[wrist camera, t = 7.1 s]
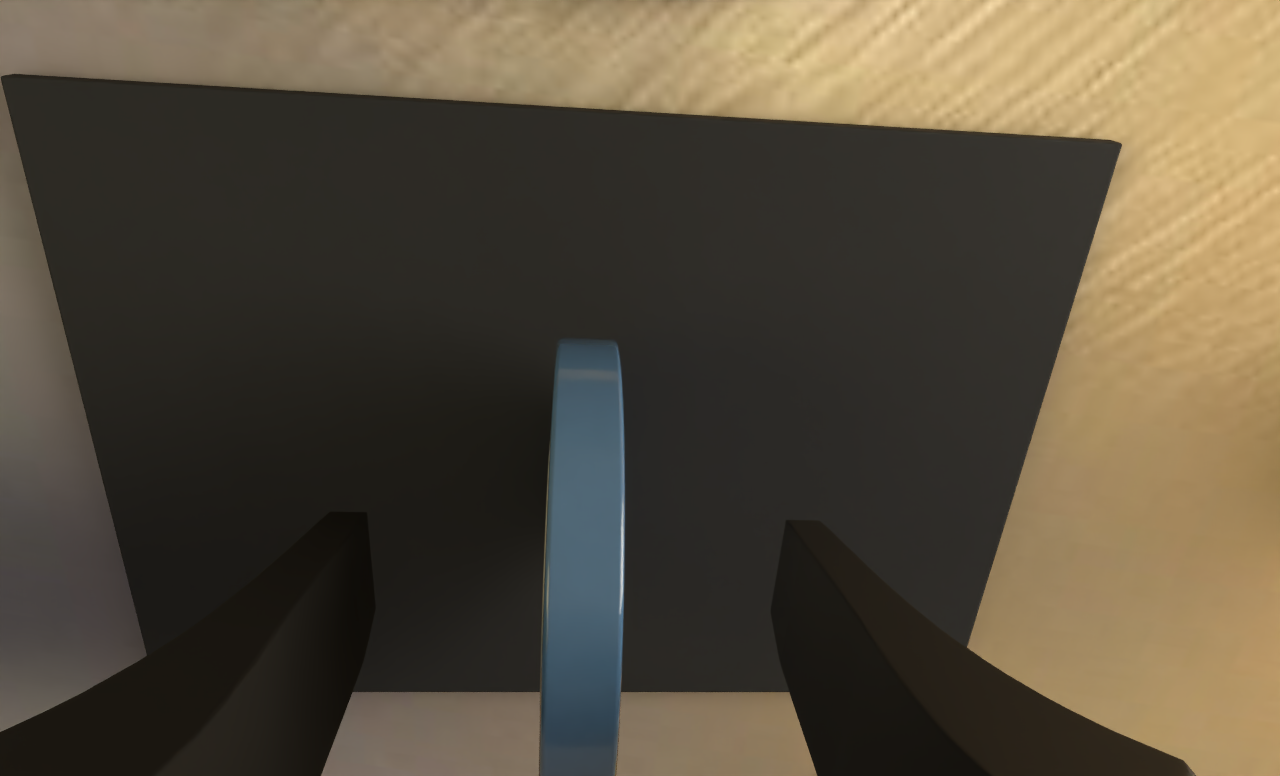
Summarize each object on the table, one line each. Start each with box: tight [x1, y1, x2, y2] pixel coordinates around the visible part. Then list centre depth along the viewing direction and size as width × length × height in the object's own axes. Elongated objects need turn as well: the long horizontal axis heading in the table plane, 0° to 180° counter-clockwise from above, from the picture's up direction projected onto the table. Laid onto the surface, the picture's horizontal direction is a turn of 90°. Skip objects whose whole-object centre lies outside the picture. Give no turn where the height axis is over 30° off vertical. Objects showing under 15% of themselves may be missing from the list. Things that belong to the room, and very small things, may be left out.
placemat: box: [1, 74, 1122, 692], centre depth 18 cm, size 20×14×1 cm
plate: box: [539, 337, 625, 776], centre depth 14 cm, size 1×8×8 cm, turn 177°
